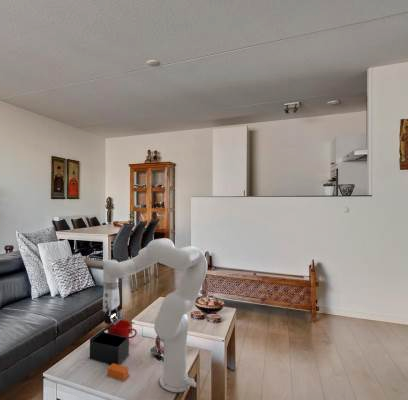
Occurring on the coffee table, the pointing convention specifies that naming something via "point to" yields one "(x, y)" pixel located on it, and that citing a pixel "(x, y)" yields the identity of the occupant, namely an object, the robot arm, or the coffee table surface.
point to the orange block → (118, 371)
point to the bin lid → (108, 325)
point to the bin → (109, 348)
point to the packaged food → (154, 351)
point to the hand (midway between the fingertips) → (110, 320)
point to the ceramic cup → (121, 329)
